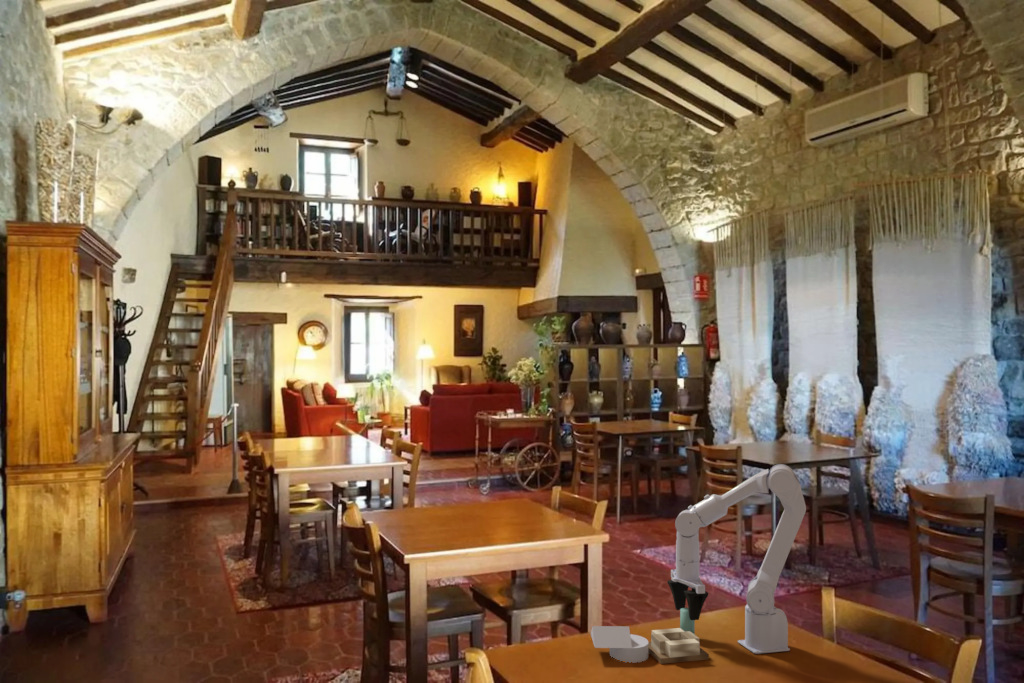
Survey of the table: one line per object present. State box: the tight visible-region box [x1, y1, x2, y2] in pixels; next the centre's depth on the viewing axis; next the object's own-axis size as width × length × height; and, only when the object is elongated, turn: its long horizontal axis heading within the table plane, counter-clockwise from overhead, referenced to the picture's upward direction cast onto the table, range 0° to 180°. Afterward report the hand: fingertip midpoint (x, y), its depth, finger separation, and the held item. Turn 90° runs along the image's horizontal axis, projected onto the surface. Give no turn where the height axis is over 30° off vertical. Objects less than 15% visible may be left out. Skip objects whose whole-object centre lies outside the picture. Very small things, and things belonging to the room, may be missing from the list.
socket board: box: [648, 627, 710, 665], centre depth 180 cm, size 12×10×4 cm
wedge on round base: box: [590, 625, 649, 664], centre depth 179 cm, size 9×7×13 cm
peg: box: [679, 607, 696, 635], centre depth 190 cm, size 4×4×7 cm
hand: (687, 614), depth 190 cm, fingers open, 7 cm apart
